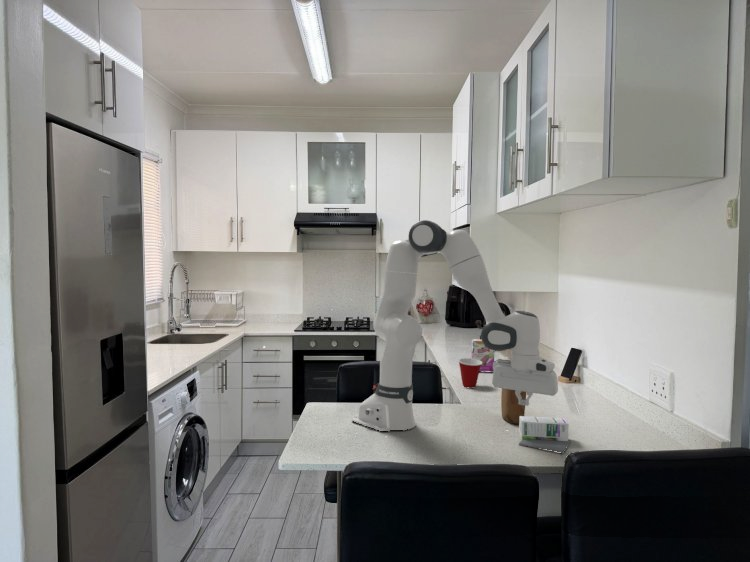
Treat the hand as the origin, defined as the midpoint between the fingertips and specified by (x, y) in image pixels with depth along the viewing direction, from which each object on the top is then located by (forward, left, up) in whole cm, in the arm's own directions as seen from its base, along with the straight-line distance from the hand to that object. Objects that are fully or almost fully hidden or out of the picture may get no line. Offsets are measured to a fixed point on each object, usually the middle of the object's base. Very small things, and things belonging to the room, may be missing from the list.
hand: (523, 404), depth 157 cm
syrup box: (-1, +1, -8) cm, 8 cm away
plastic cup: (-38, +52, -11) cm, 66 cm away
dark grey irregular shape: (-65, +149, -11) cm, 163 cm away
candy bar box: (-44, +85, -11) cm, 96 cm away
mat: (+7, 0, -11) cm, 13 cm away
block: (-8, +17, -11) cm, 22 cm away
